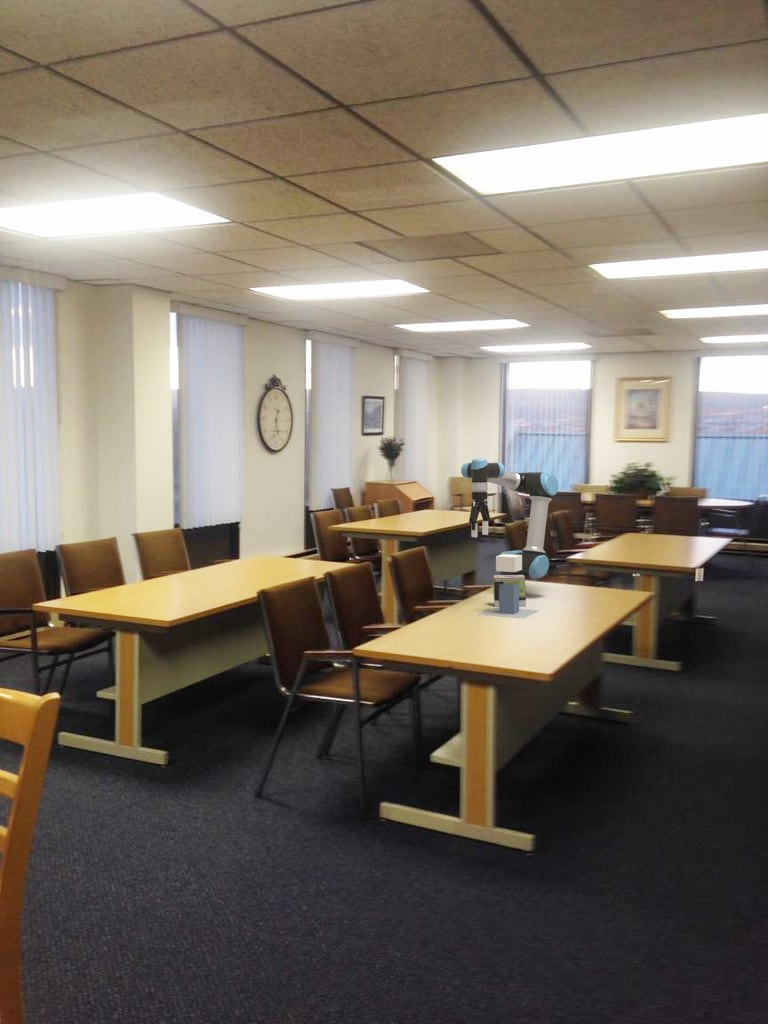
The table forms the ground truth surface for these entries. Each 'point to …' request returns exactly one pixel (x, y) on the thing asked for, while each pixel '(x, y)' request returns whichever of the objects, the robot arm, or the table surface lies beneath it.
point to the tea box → (512, 580)
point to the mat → (521, 614)
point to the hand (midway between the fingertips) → (479, 535)
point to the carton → (508, 598)
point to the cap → (509, 563)
